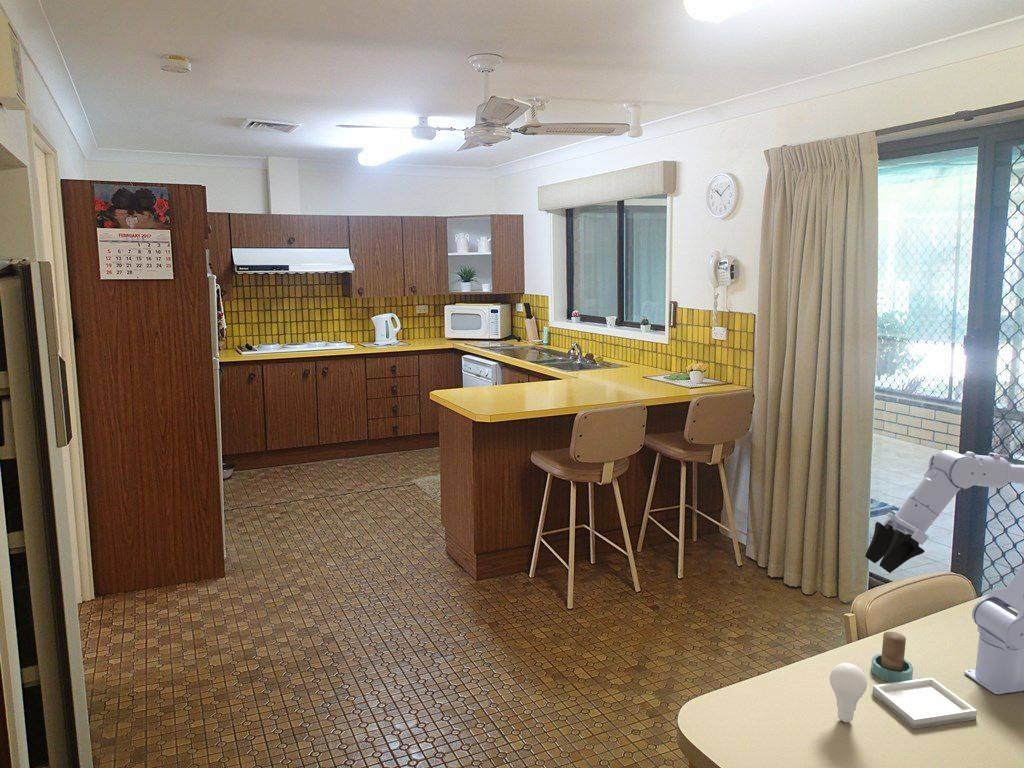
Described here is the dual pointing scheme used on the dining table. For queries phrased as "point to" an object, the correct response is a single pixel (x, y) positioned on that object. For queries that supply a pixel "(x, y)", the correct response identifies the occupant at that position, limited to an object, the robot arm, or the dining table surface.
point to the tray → (924, 703)
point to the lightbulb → (847, 688)
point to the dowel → (893, 651)
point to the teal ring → (891, 675)
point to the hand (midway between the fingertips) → (876, 564)
